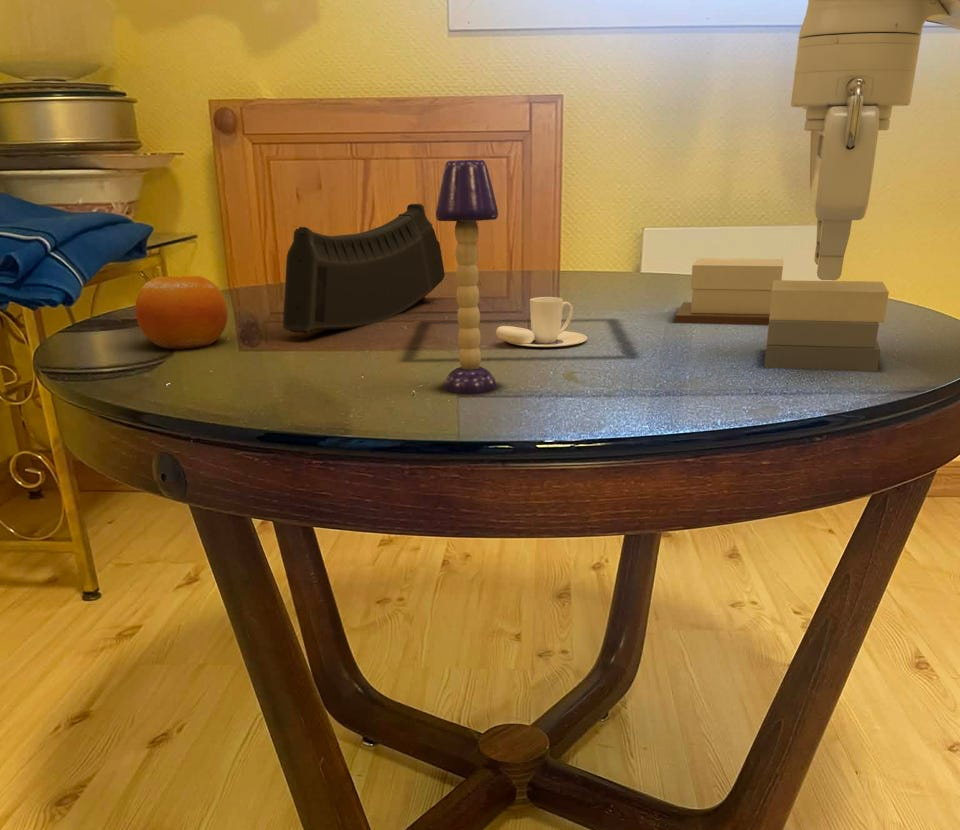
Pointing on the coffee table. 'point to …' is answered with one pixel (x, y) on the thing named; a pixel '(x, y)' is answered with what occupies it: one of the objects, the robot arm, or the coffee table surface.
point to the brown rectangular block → (822, 345)
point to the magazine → (360, 273)
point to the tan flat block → (828, 301)
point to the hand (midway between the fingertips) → (826, 271)
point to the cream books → (731, 291)
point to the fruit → (181, 311)
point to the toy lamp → (467, 264)
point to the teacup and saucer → (543, 325)
